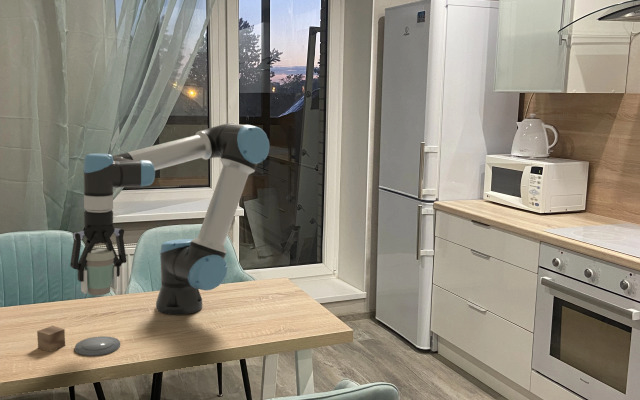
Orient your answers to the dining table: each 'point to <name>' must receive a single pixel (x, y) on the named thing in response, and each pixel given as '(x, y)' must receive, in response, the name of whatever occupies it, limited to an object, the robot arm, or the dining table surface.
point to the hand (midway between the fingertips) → (99, 289)
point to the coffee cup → (99, 271)
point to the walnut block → (51, 338)
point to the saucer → (97, 346)
